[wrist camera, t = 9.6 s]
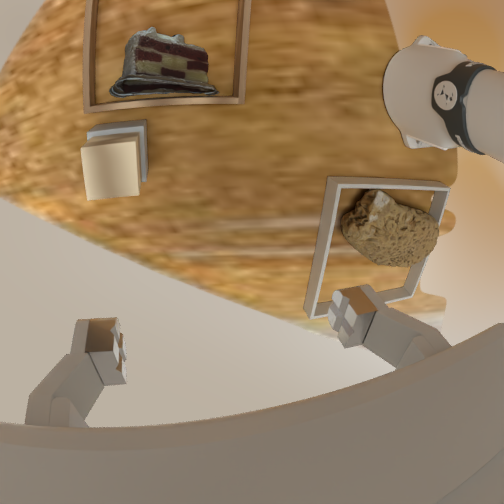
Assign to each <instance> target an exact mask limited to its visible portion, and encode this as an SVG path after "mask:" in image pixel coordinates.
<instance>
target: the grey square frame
mask: <svg viewBox="0 0 504 504" xmlns="http://www.w3.org/2000/svg"><path fill="white" fill-rule="evenodd" d="M341 188H378V189H413V190H435V193H434V197H433V200H432V204H431V207H430V211H429V215H431V216H432V217H434V218H435V219H436V221H437V222H438V224H439V226H440V222H441V219H442V216H443V213H444V210H445V206H446V203H447V199H448V196H449V192H450V187H448V186H446V185H444V184H443V183H441V182H438V181H425V180H410V179H393V178H370V177H334V176H328V178H327V184H326V190H325V196H324V203H323V209H322V214H321V220H320V226H319V232H318V237H317V243H316V248H315V253H314V258H313V264H312V269H311V274H310V279H309V284H308V288H307V293H306V298H305V303H304V307H303V309H304V310H305V312H306V314H307V316H308V317H309V319H316V318H321V317H326V316H328V310H329V307H330V306H331V304H332V303H333V302H334V301H329V302H323V303H317V301H318V297H319V292H320V288H321V284H322V280H323V275H324V271H325V266H326V262H327V257H328V253H329V248H330V243H331V238H332V234H333V229H334V224H335V218H336V213H337V208H338V203H339V197H340V192H341ZM428 257H429V255H428V256H427V257H426V258H424V259H423V261H421V262H419V263H416V264H414V265H412V266H411V268H410V271H409V274H408V276H407V279H406V282H405V284H404V287H401V288H396V289H391V290H386V291H382V292H377V295H378V296H379V297H380V298H381V299H382V300H383V302H384V303H385V304H387V303H391V302H395V301H399V300H404V299H408V298H412V297H413V295H414V292H415V290H416V288H417V285H418V283H419V280H420V278H421V275H422V273H423V270H424V267H425V265H426V262H427V260H428Z"/></svg>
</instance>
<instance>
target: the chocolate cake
mask: <svg viewBox="0 0 504 504" xmlns="http://www.w3.org/2000/svg"><path fill="white" fill-rule="evenodd" d="M207 72H208V55H207V53H206V52H205V50H204V48H201V47H198V46H195V45H188V44H185V43H184V37H183V36H182V35H179V34H178V35H174V36H172V37H170V36H167V35H163V34H159V33H156V29H155V28H154V27H151V28H149V29H148V30H147V31H145V30H143V31H139V32H137V33H136V34H134V35H133V36H132V37H131V38H130V39H129V41H128V43H127V45H126V46H125V60H124V66H123V74H122V77H120V78H119V79H118V80H117V81H116V82H115V84H114V85H113V86H112V87H111V88H110V90H109V92H110V94H111V95H113V96H115V97H122V98H124V97H126V96H135V95H144V94H154V93H155V94H156V93H158V94H167V93H174V92H176V93H204V94H206V95H215V94H218V93H219V92H218V91H217V90H216V89H215V87H214V86H213V85H209V84H208V77H207Z"/></svg>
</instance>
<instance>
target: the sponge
mask: <svg viewBox="0 0 504 504" xmlns="http://www.w3.org/2000/svg"><path fill="white" fill-rule="evenodd" d="M341 226H343V228H342V232H343V235H344V237H345V239H346V240H347V241H348V242H349V243H350V244H351V245H352V246H353V247H354V248H355V249H357V250H358V251H359V252H360V253H361V254H362V255H364V256H365V257H367V258H368V259H369V260H371V261H372V262H374V263H377V264H378V265H387V266H389V265H390V266H392V267H396V266H398V267H409V266H411V265H414V264H416V263H419V262H421V261H423V259H424V258H426V257H427V256H428V255H429V254H430V253H431V251H433V249H434V247H435V245H436V243H437V237H438V236H439V224H438V222H437V221H436V219H435V218H434V217H432V216H431V215H429V214H428V213H426V212H423V211H421V210H419V209H413V208H409V207H408V206H404V205H402V204H397V203H395V200H394V199H392V197H391V196H389V195H388V194H387V193H385V192H383V191H381V190H380V189H378V188H376V189H370V190H369V191H366V192H365V193H364V196H363V197H362V198H361V199H360V200H359V201H358V202H357V203H356V206H355V210H352V211H351V212H348V213H347V214H345V215H343V217H342V220H341Z"/></svg>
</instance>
